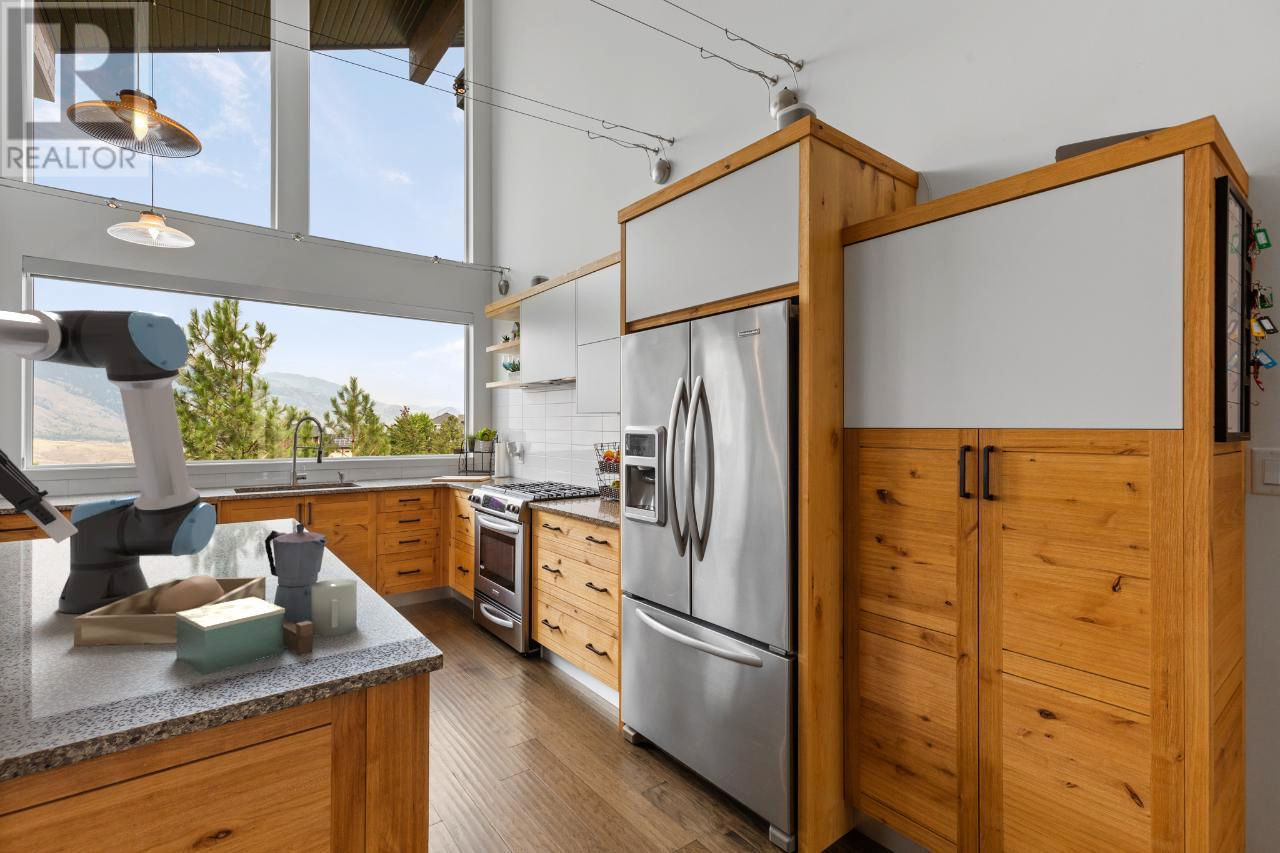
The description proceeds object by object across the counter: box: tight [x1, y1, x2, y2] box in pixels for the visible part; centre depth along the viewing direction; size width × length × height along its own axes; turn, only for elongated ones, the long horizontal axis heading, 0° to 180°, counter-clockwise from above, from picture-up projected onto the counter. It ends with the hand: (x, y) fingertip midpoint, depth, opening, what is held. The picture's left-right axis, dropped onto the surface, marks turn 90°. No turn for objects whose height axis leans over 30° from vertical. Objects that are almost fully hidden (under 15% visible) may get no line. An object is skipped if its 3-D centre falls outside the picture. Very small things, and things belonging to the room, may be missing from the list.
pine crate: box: [73, 576, 267, 647], centre depth 125 cm, size 28×19×5 cm
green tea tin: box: [176, 597, 285, 676], centre depth 106 cm, size 12×12×8 cm
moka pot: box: [264, 523, 328, 624], centre depth 125 cm, size 10×15×20 cm, turn 78°
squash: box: [151, 574, 224, 614], centre depth 125 cm, size 11×20×9 cm, turn 59°
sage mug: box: [311, 578, 358, 637], centre depth 119 cm, size 10×8×9 cm
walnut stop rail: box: [283, 619, 314, 656], centre depth 113 cm, size 20×2×5 cm, turn 52°
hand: (67, 536), depth 93 cm, fingers closed
